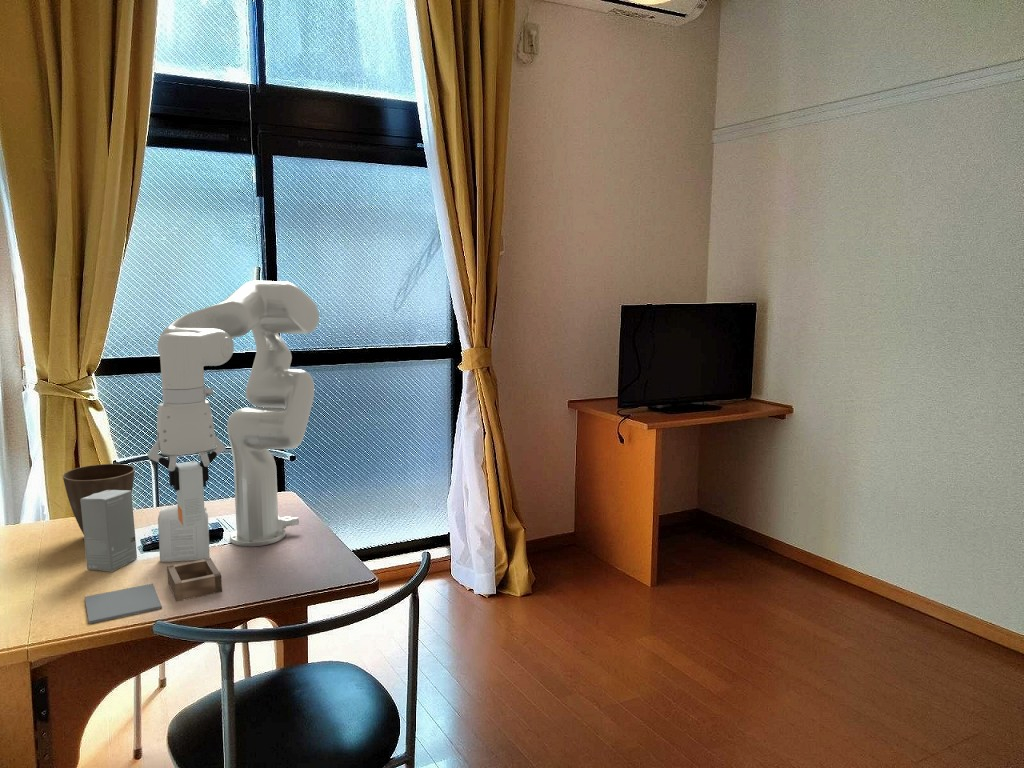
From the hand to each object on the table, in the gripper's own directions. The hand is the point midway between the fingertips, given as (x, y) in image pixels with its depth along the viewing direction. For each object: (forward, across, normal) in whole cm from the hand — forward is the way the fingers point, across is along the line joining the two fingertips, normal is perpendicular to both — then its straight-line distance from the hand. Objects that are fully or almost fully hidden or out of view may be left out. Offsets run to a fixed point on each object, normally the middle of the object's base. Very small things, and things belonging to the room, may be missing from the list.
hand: (189, 486), depth 146 cm
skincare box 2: (+8, 0, 0) cm, 8 cm away
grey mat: (+21, +13, +1) cm, 25 cm away
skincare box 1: (+21, +13, -22) cm, 33 cm away
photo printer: (+21, -1, -17) cm, 27 cm away
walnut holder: (+21, 0, 0) cm, 21 cm away
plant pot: (+21, +13, -42) cm, 49 cm away
